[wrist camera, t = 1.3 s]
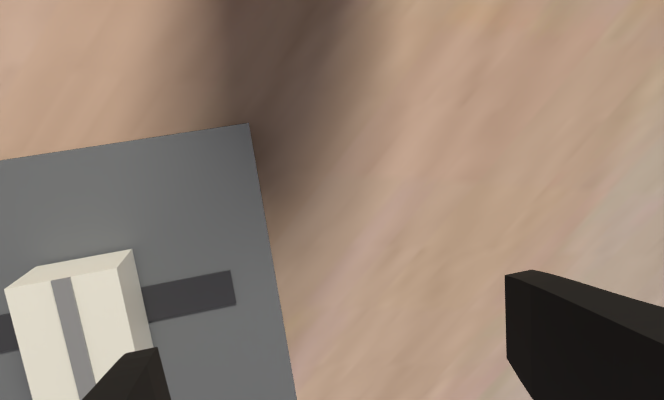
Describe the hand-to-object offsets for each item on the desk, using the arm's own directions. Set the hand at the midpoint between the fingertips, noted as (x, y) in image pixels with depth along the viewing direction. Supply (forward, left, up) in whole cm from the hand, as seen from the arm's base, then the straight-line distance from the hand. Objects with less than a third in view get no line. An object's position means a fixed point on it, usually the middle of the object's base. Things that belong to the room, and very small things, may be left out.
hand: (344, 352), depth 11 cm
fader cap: (-1, +7, -8) cm, 11 cm away
